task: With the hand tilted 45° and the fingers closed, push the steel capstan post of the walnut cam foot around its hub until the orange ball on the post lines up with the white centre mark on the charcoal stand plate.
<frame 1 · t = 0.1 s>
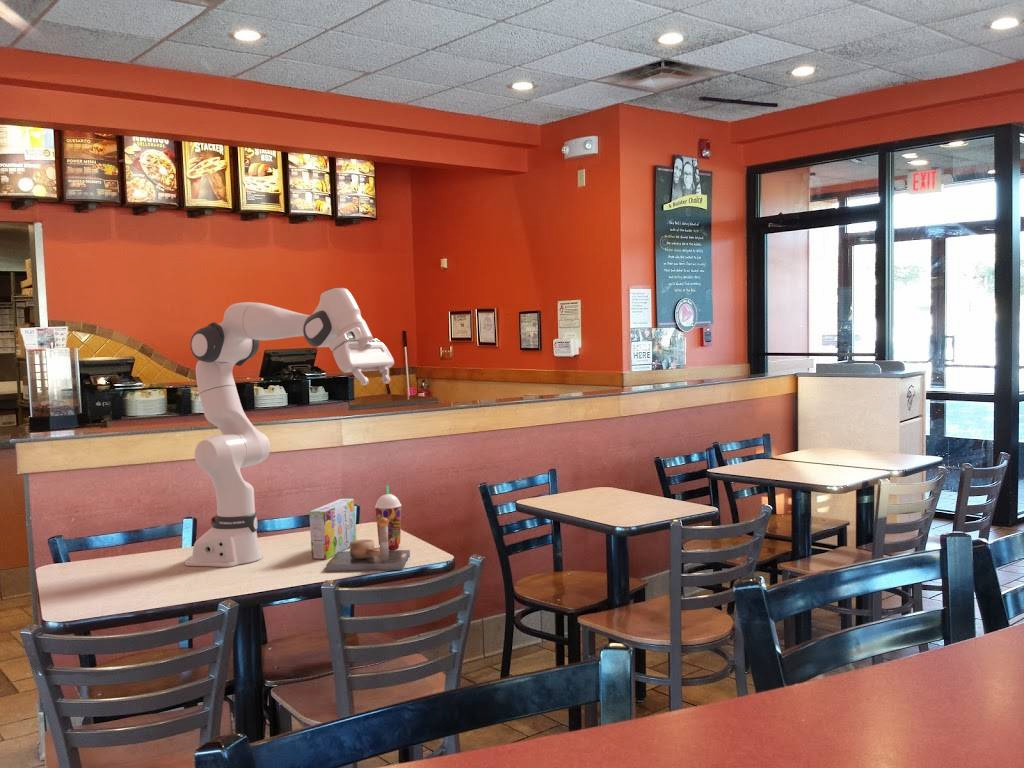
hand: (376, 383, 247), 54 cm above the table, tool tilted 30°, fingers open, 8 cm apart
smoothie: (389, 548, 288), on the table
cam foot: (370, 536, 265), point 9 cm above the table, hinge at -40.0°
snack box: (334, 552, 285), on the table
stand plate: (369, 563, 268), on the table
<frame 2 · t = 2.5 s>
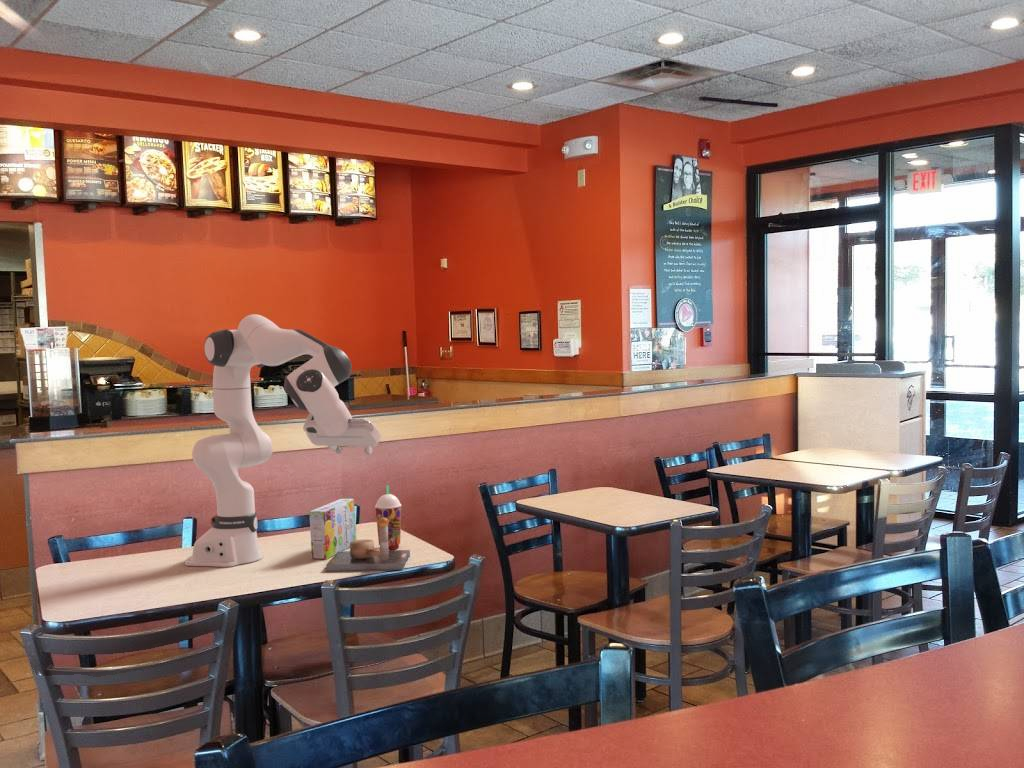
hand: (354, 452, 248), 36 cm above the table, tool tilted 45°, fingers open, 8 cm apart
nothing on the table moved.
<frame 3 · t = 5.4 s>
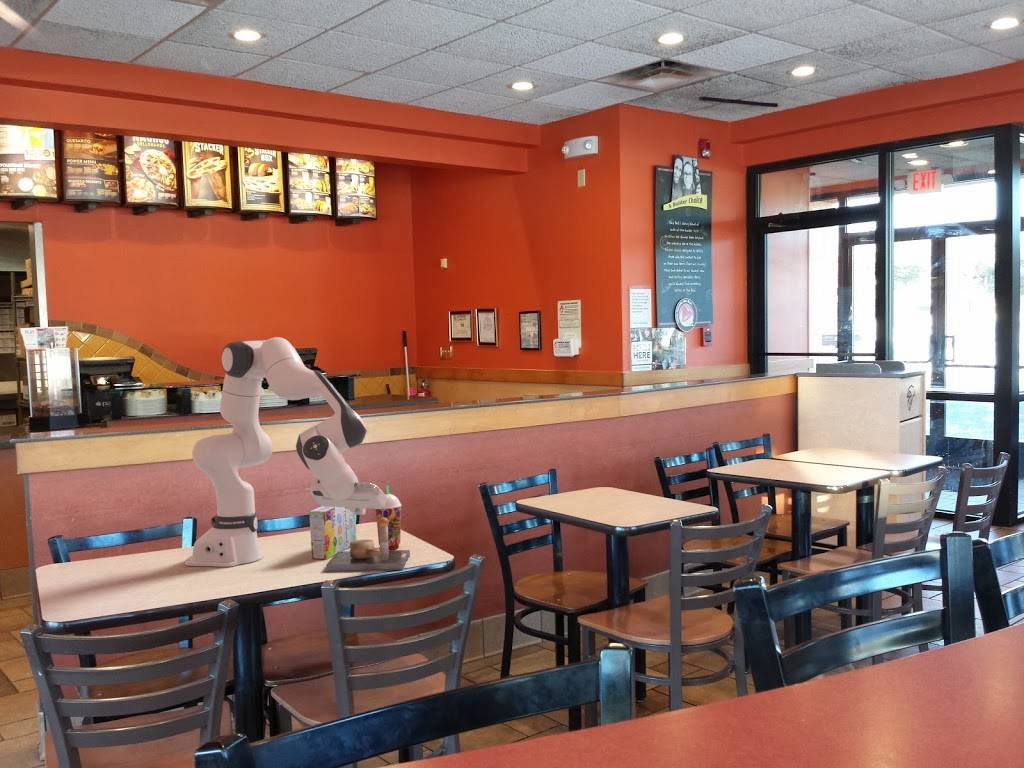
hand: (360, 512, 249), 19 cm above the table, tool tilted 45°, fingers closed
nothing on the table moved.
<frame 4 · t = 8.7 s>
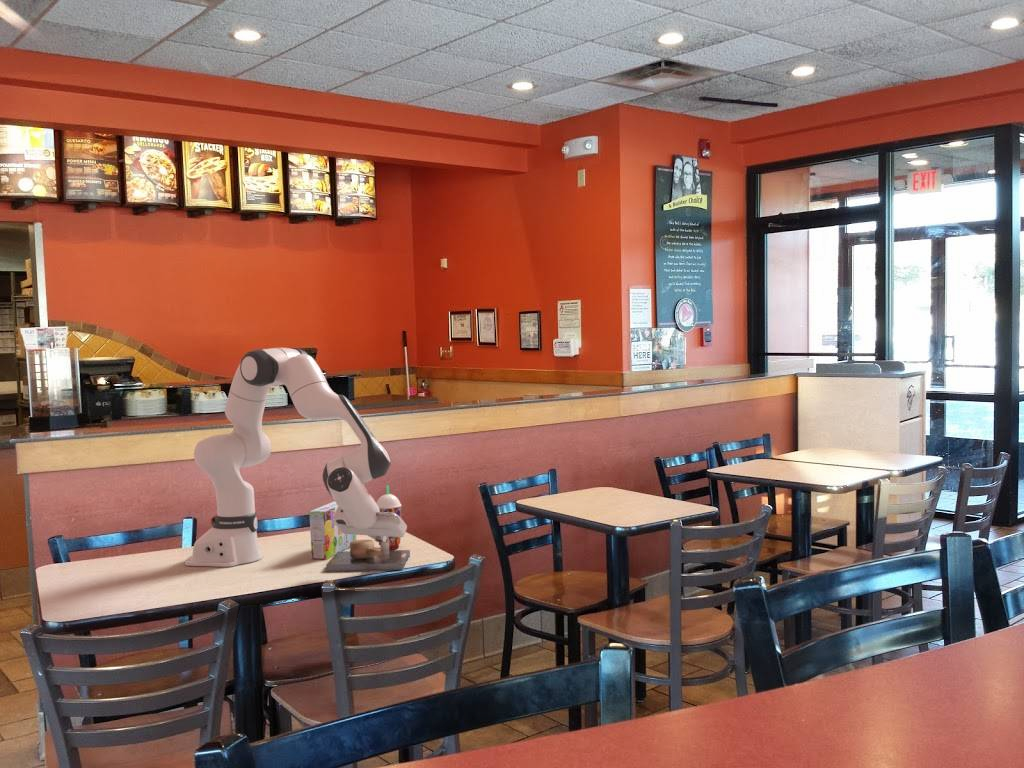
hand: (381, 539, 259), 9 cm above the table, tool tilted 45°, fingers closed, pressing on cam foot
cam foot: (370, 536, 265), point 9 cm above the table, hinge at -38.5°, touching gripper
everything else where it was.
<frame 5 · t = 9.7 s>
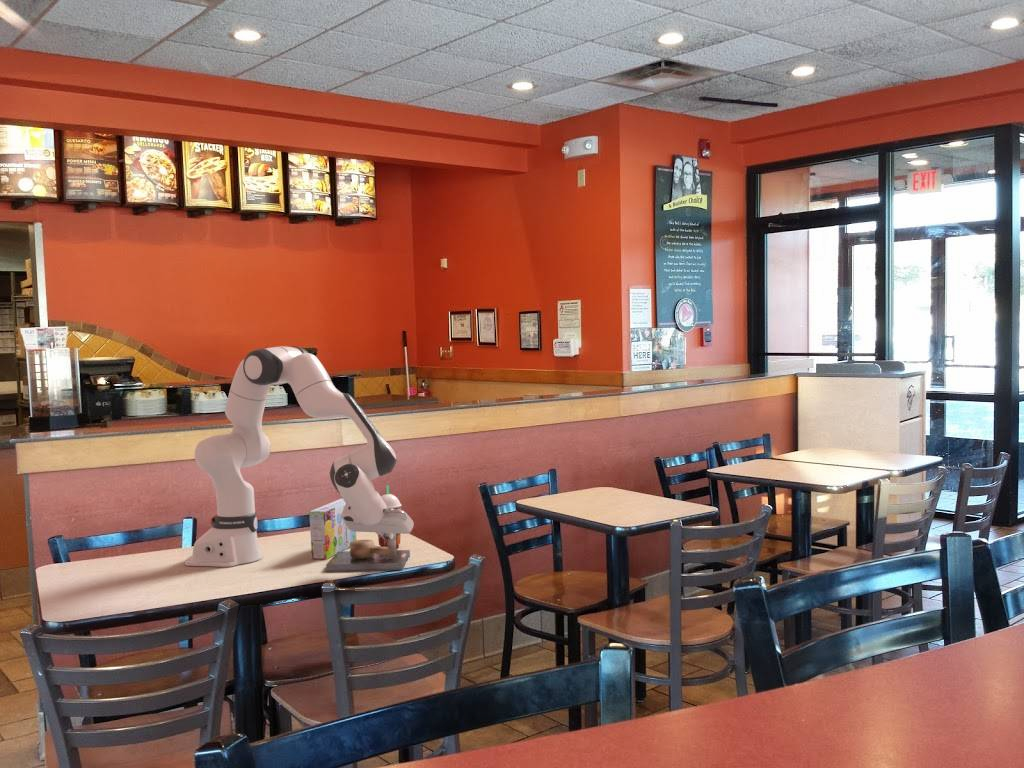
hand: (389, 537, 262), 9 cm above the table, tool tilted 45°, fingers closed, pressing on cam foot
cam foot: (373, 535, 266), point 9 cm above the table, hinge at -19.2°, touching gripper
everything else where it was.
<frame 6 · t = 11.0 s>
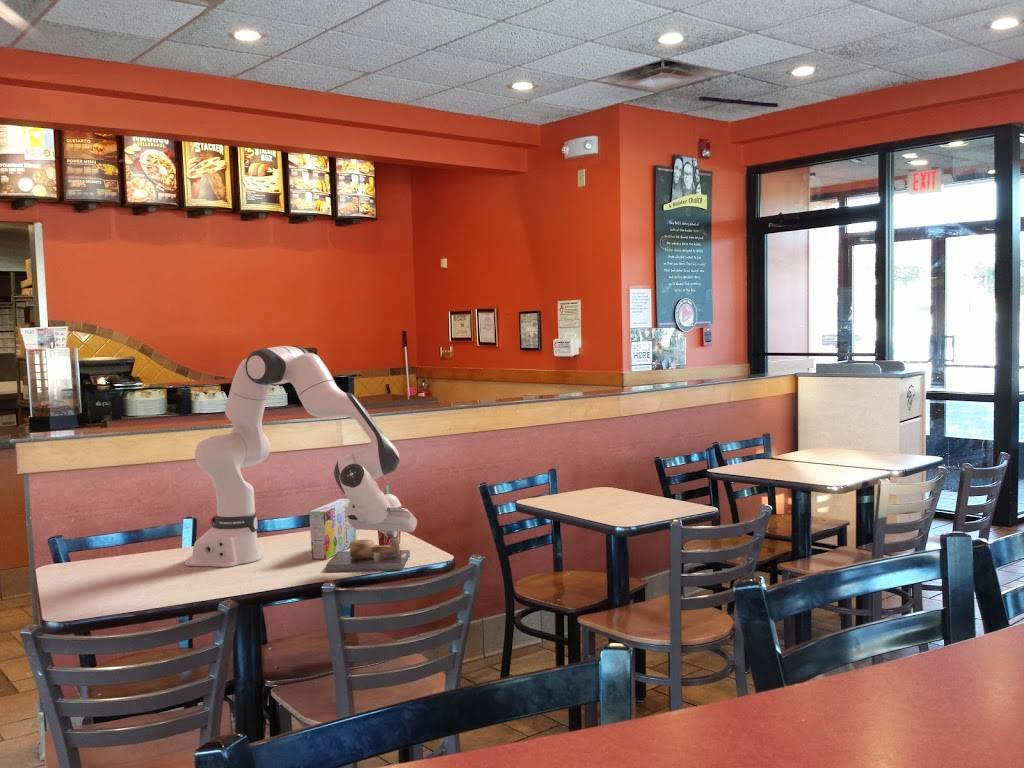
hand: (392, 535, 265), 9 cm above the table, tool tilted 45°, fingers closed, pressing on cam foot
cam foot: (374, 534, 267), point 9 cm above the table, hinge at -3.6°, touching gripper
everything else where it was.
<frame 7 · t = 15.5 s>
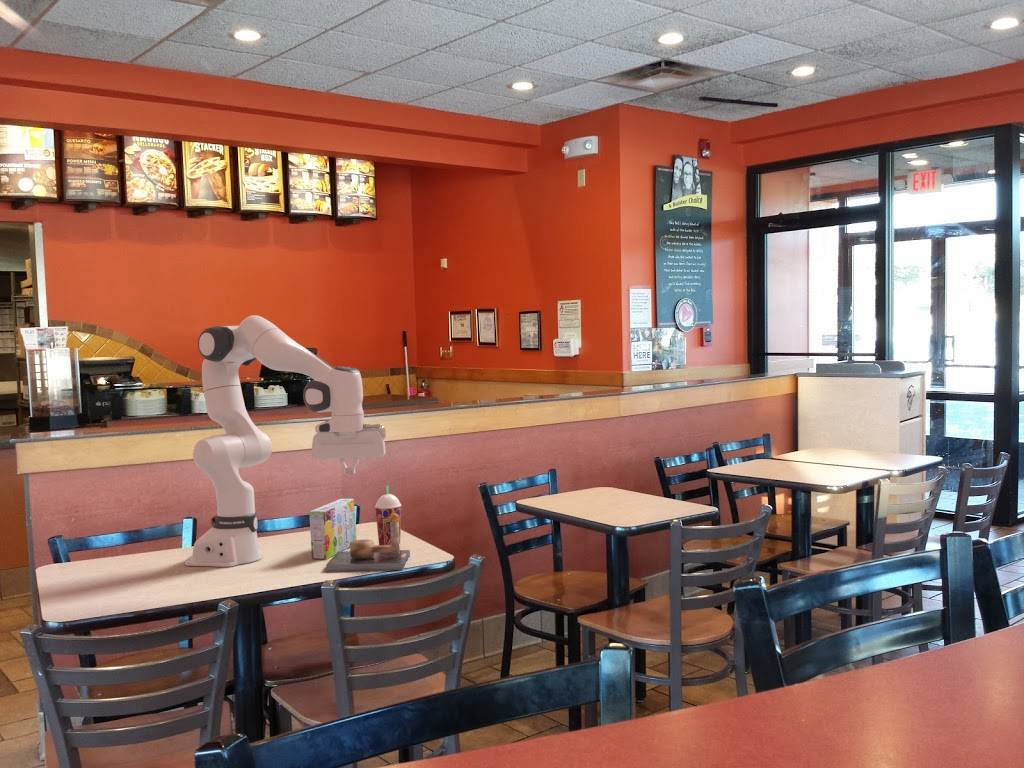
hand: (349, 473, 252), 29 cm above the table, tool pointing down, fingers closed
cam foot: (374, 534, 267), point 9 cm above the table, hinge at -3.5°
everything else where it was.
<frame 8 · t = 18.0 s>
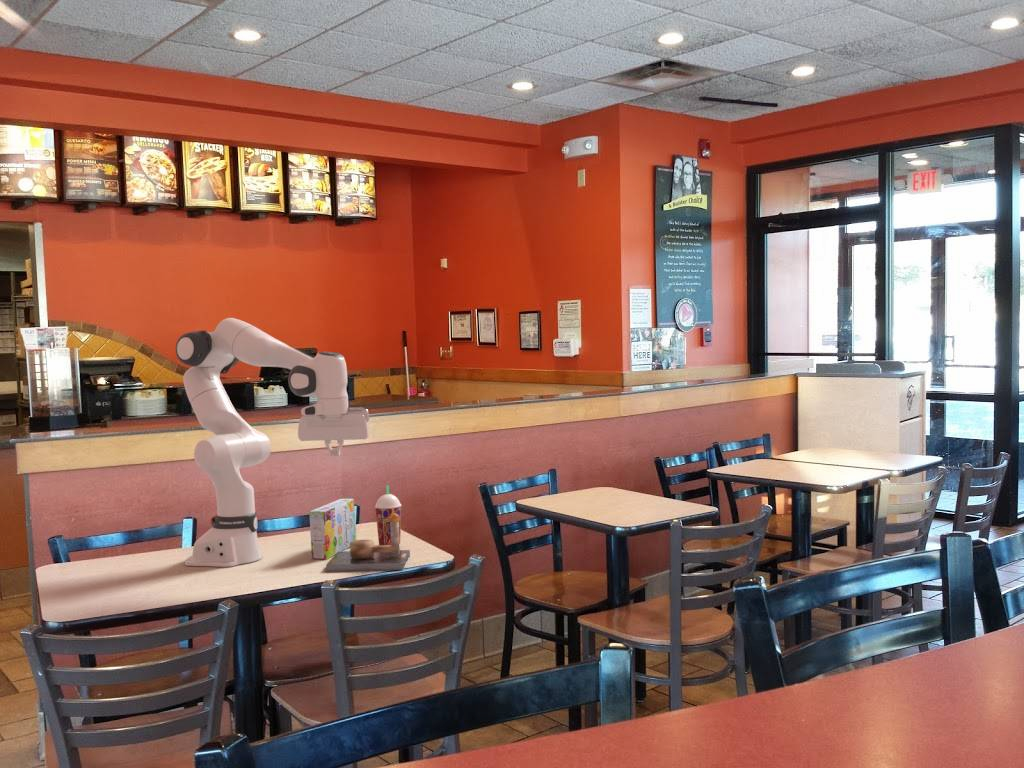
hand: (334, 455, 261), 33 cm above the table, tool pointing down, fingers closed
nothing on the table moved.
at the end: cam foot at -4° (first picture: -40°); smoothie moved 0.2 cm from its start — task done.
